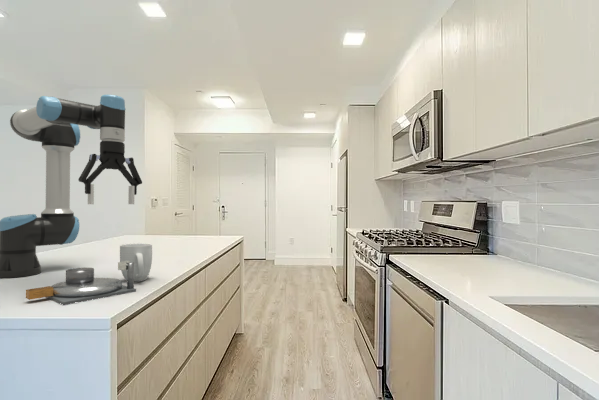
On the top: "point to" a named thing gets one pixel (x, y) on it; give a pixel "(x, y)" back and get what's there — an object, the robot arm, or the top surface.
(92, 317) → the top surface
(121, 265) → the post
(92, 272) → the dark grey bowl
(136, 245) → the mug
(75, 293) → the turntable
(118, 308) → the top surface
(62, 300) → the base plate
